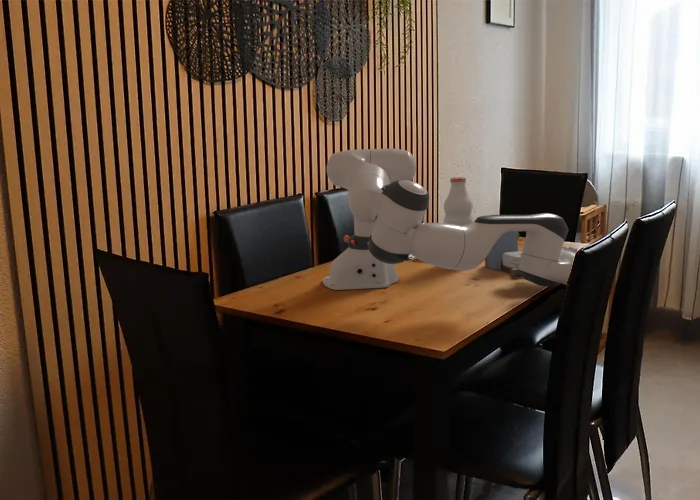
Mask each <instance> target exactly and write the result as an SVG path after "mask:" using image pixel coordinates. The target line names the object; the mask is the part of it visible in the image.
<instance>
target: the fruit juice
mask: <svg viewBox="0 0 700 500" xmlns="http://www.w3.org/2000/svg"><path fill="white" fill-rule="evenodd" d="M466 181H467V179H466V177H464V176H463V177H457V176H456V177H451V178H450V181H449V182H450V184H451V186H450V190H449V193H448V195H447V197H446V199H445V201H444V203H443V210H444V213H445V214H444V215H445V216H444V219H443V223H446V224H454V225H460V226H463V225H468V224H470V223H472V222H474V218H473V216H472V211H473V209H474V208H473V207H474V206H473V205H474V204H473V202H472V199H471V198H470V196H469V194H468V191H467V188H466V183H467V182H466Z"/></svg>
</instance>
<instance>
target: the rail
mask: <svg viewBox="0 0 700 500" xmlns="http://www.w3.org/2000/svg"><path fill="white" fill-rule="evenodd" d="M484 267H486V268H489V267H488V256H487V257H486V259H485V260H484ZM501 271H503V272H505V273H507V274H510V278H513V279H520V278H523V277H522V276H521V275H520V273H519V271H518V269H515V268H511V267H507V266H504V265H503V261H501Z"/></svg>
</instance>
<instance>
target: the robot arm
mask: <svg viewBox="0 0 700 500" xmlns="http://www.w3.org/2000/svg"><path fill="white" fill-rule="evenodd" d="M326 163H327V165H326V175H327V178H328V179H329V181H330V182H331V184H333V186H336V187H340V188H343V189H346V190H347V191H348V192H347V201H348V203H347V204H348V207H349V210H350V212H351V214H352V215H353V226H354V227H353V229H354V234H353V235H351V236H350V235H348V234H346V235H344V237H343V241H344V242H345V243H346V244H347V243H348V247H347V248H346V249H345V250H344V251H342V253H340V254H339V255H338V256H337V257H336V258H335V259H333V260H332V261H331V264H330V270H329V276H325V277H323V278H322V284H323V285H324V286H325V287H326V288H327V289H331V290H334V291H342V290H360V289H361V290H363V289H379V288H381V289H383V288H388V287H389V286H391V285H393V284H395V283H397V282H398V281H399V276H398V274H397V269H396V264H397V265H398V264H402V263H404V262H408V261H409V262H410V261H412V260H413V259H415V258H416V259H417V260H419V261H421V262H424V263H426V264H429V265H432V266H435V267H439V268H443V269H450V270H455V271H471V270H473V269H476V268H477V267H479V266H480V265H481V264H482V263H483V262H485V259H486V257H487V256H488V254H489V252H490V251H491V249H492V247H493V246H494V244H495V243H496V241H497V240H498V239H499V237H500V236H501V235H503V234H504V233H506V232H509V231H518V232H525V233H526V234H525V238H524V243H523V248H522V250H520V251H519V250H518V251H517V252H506V253H504V254H503V265H504V266H507V267H511V268H515V269H518V271H519V273H520V275H521V276H522V277H521V278H523V280H525V281H528V282H530V283H533V284H535V285H537V286H541V287H546V288H553V287H555V286H558V285H560V284H562V285H566V286H568V285H567V281H568V278H569V275H570V271H571V267H572V263H573V259H574V256H575V254H576V252H578V248H577V247H574V246H570V247H569V246H564V243H565V241H566V238H567V235H568V232H569V228H568V225H567V223H566V221H565V220H564V218H563V217H561V216H559V215H558V214H554V213H549V212H544V213H536V214H534V213H533V214H489V215H481V216H477V217H476V218H475V220H473V222H472V223H470V224H468V225H463V226H460V225H454V224H446V223H444V222H425V223H424V222H423V220H424V217H425V213H426V210H427V209H428V206H429V203H430V194H429V192H428V190H427V189H426V188H425V187H424V186H422V185H421V184H419V183H417V182H415V181H412V180H413V179H414V177H415V175H416V172H417V163H416V159H415V157H414V156H413V154H412V153H411V152H410V151H409V150H405V149H399V148H371V149H367V148H366V149H347V150H343V151H339V152H334V153H333V154H332V155H331V156H330V157H329V159H328V161H327V162H326Z"/></svg>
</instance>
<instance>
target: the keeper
mask: <svg viewBox="0 0 700 500" xmlns="http://www.w3.org/2000/svg"><path fill="white" fill-rule="evenodd" d="M518 233H519V231H509V232H506V233H504V234H503V235H501V236H500V237H499V239H498V240H497V241H496V243H495V244H494V246H493V247H492V249H491V251H490V252H489V254H488V267H487V268H489V269H492V270H494V271H500V270H501V261H503V254H504V253H506V252H517V251H519V250H518V249H519V245H518V244H519V238H518ZM501 271H502V270H501Z"/></svg>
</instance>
